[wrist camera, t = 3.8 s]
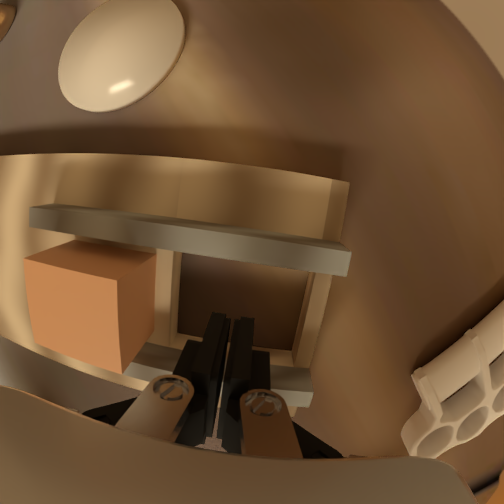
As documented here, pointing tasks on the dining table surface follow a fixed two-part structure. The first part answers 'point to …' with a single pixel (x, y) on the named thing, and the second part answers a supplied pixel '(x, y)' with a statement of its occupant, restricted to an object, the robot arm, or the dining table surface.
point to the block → (92, 301)
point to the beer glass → (6, 18)
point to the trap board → (173, 241)
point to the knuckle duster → (464, 401)
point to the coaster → (121, 53)
